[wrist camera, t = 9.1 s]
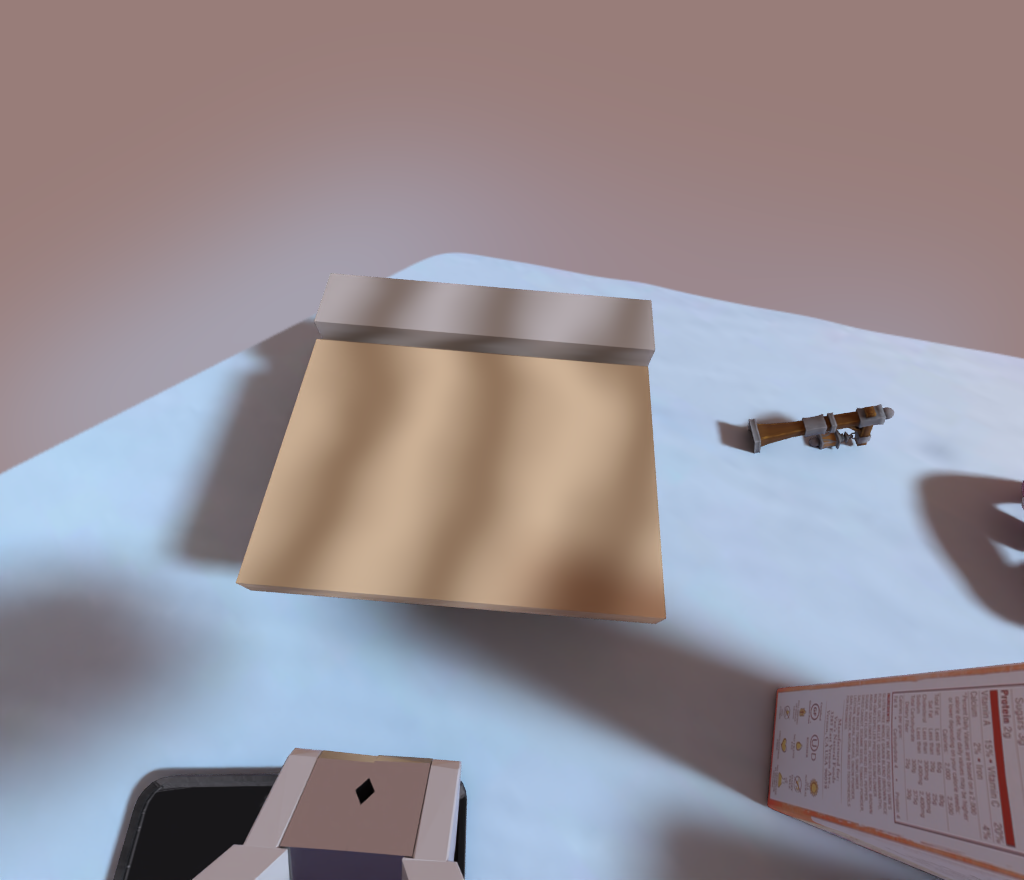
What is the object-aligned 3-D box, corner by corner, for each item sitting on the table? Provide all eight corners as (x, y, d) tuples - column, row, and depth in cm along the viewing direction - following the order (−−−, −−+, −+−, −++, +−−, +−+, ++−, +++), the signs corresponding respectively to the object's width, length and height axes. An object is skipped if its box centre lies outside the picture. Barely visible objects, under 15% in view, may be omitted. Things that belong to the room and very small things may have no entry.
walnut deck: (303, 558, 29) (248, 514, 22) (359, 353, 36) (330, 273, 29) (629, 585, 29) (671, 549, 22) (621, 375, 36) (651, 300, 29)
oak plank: (250, 590, 22) (235, 582, 21) (324, 356, 28) (316, 339, 27) (655, 624, 22) (665, 618, 21) (640, 382, 28) (648, 367, 27)
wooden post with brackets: (884, 451, 33) (903, 418, 29) (753, 469, 36) (755, 441, 32) (875, 427, 34) (892, 392, 30) (747, 447, 36) (748, 417, 33)
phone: (460, 1004, 20) (73, 1017, 19) (461, 990, 21) (93, 1002, 20) (467, 769, 24) (143, 774, 23) (467, 767, 25) (157, 771, 24)
